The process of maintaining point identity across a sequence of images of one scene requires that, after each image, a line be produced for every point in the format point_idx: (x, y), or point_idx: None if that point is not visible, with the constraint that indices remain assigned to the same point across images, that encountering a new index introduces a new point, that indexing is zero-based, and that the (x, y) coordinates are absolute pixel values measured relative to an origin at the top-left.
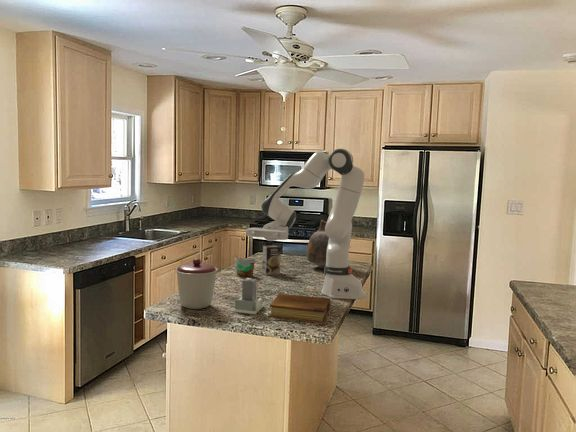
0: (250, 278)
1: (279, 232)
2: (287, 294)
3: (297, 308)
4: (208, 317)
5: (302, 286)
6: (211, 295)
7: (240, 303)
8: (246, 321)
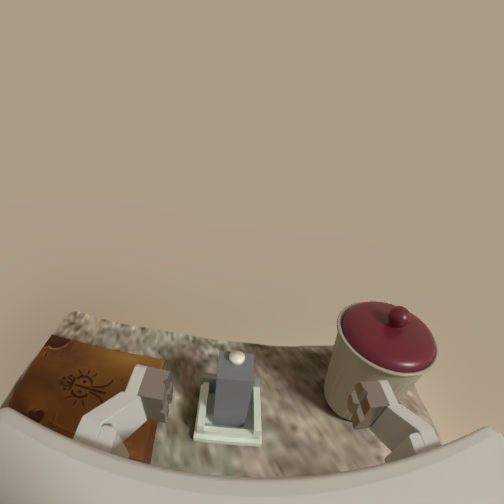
0: (232, 357)
1: (62, 435)
2: None
3: (101, 348)
4: (288, 354)
5: None
6: (328, 382)
7: None
8: (209, 350)
